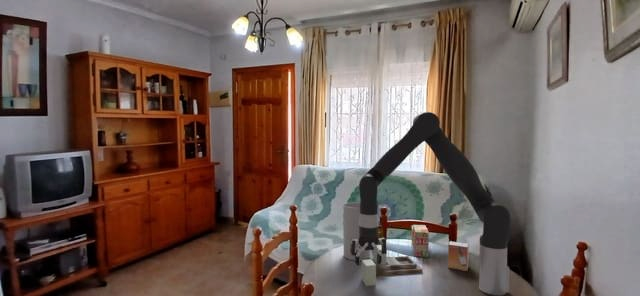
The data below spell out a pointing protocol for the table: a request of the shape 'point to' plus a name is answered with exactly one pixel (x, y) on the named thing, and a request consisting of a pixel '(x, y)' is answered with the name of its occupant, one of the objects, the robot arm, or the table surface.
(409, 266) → the tray
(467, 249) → the small box
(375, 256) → the block
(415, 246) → the stack of blocks
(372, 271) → the loose block
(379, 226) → the condiment
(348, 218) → the cylinder vase
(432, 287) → the table surface
